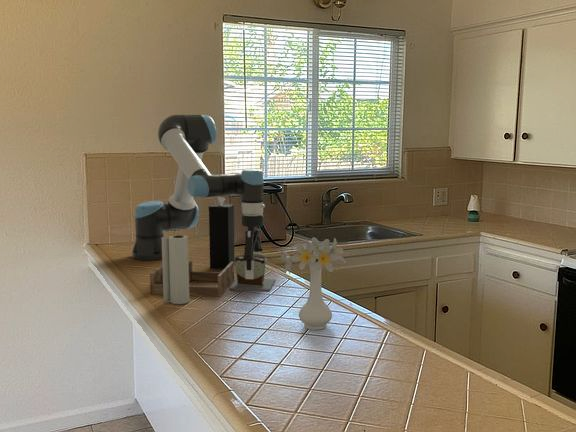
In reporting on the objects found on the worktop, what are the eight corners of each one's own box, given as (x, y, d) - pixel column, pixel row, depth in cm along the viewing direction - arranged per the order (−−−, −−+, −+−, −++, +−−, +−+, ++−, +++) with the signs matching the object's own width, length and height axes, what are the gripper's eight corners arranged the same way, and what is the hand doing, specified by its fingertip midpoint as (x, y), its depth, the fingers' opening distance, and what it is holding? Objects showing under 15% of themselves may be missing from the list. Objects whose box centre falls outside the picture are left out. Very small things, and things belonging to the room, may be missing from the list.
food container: (272, 282, 216) (272, 255, 214) (266, 287, 210) (266, 258, 208) (240, 279, 219) (240, 252, 218) (233, 284, 214) (233, 256, 212)
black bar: (229, 270, 237) (228, 198, 232) (209, 269, 238) (208, 198, 234) (234, 265, 244) (233, 196, 240) (216, 264, 246) (214, 195, 241)
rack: (170, 278, 224) (169, 259, 223) (234, 280, 221) (233, 261, 220) (150, 293, 203) (150, 273, 202) (220, 296, 200) (220, 275, 199)
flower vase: (274, 325, 172) (273, 238, 168) (330, 316, 180) (331, 233, 176) (294, 339, 160) (295, 246, 157) (354, 329, 168) (355, 240, 165)
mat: (237, 279, 222) (237, 277, 222) (275, 280, 220) (275, 279, 220) (229, 289, 208) (229, 288, 208) (269, 291, 207) (269, 289, 207)
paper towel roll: (193, 300, 196) (191, 235, 192) (182, 305, 190) (180, 238, 187) (174, 298, 199) (172, 233, 195) (163, 303, 193) (161, 236, 190)
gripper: (256, 220, 198) (257, 283, 201) (268, 209, 222) (269, 266, 226) (234, 219, 199) (235, 282, 202) (248, 209, 223) (249, 265, 227)
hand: (253, 274), depth 214 cm, fingers open, 13 cm apart
